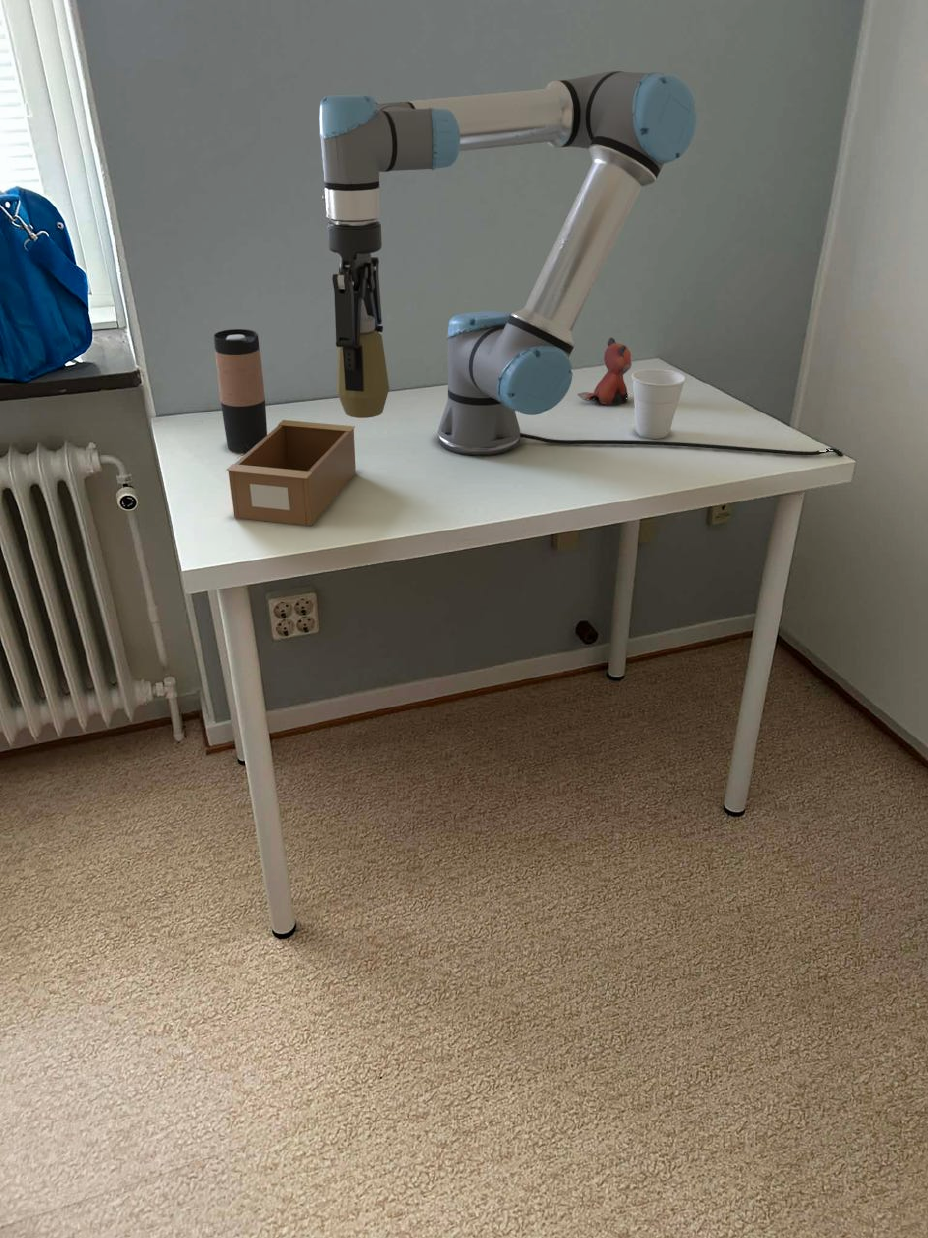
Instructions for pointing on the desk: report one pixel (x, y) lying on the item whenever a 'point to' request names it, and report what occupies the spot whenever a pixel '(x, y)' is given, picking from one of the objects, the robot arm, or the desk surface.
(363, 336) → the squeeze bottle
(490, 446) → the robot arm
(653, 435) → the cup
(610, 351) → the stuffed fox
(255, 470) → the wooden box
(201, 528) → the desk surface
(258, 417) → the travel mug
